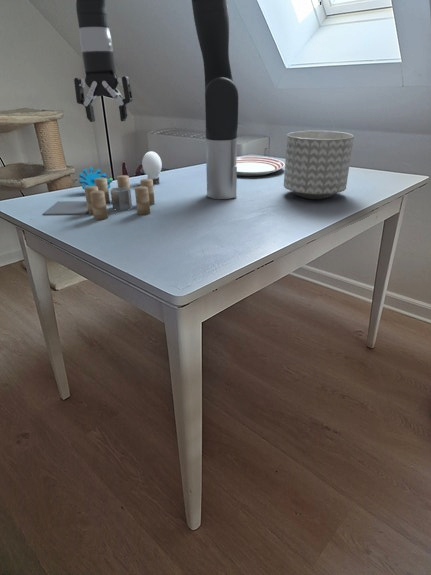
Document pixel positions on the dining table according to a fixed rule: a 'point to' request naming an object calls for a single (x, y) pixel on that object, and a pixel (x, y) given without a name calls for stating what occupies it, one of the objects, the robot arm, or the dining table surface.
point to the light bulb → (152, 166)
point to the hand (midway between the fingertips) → (107, 121)
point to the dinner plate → (257, 165)
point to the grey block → (121, 198)
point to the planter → (317, 163)
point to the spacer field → (100, 196)
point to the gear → (92, 177)
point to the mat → (68, 208)
